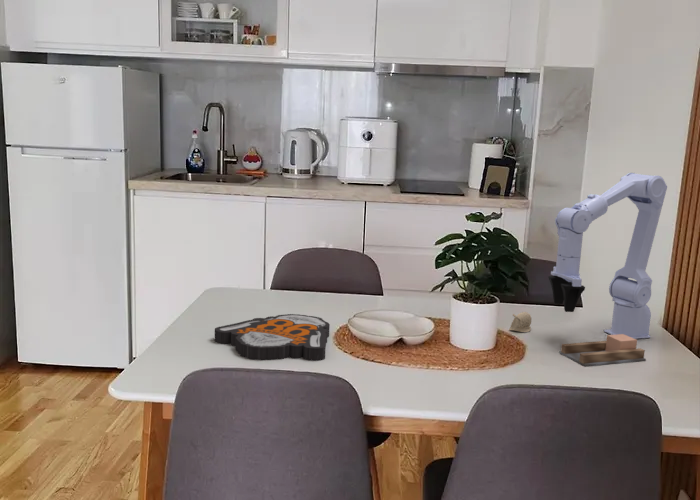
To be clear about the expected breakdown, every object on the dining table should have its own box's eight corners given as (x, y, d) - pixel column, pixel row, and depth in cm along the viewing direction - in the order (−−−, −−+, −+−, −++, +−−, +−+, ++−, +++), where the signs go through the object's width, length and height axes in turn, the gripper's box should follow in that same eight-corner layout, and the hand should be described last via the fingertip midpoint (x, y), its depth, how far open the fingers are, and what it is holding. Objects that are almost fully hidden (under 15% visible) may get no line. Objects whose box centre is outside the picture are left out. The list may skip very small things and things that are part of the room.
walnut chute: (617, 348, 183) (618, 338, 183) (645, 360, 174) (646, 351, 174) (559, 352, 177) (560, 343, 177) (584, 366, 168) (586, 356, 167)
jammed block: (621, 349, 181) (623, 334, 180) (635, 355, 176) (637, 340, 175) (605, 350, 179) (607, 335, 178) (618, 357, 174) (620, 341, 173)
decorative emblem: (305, 372, 157) (361, 337, 184) (306, 358, 156) (361, 324, 183) (196, 349, 169) (263, 319, 196) (196, 335, 168) (263, 307, 195)
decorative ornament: (535, 330, 196) (537, 311, 195) (516, 335, 191) (517, 315, 190) (523, 326, 199) (525, 308, 198) (504, 331, 194) (505, 312, 193)
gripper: (543, 249, 187) (539, 299, 189) (563, 261, 173) (558, 315, 175) (570, 250, 187) (565, 300, 190) (592, 261, 173) (586, 315, 176)
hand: (563, 307), depth 183 cm, fingers open, 7 cm apart
